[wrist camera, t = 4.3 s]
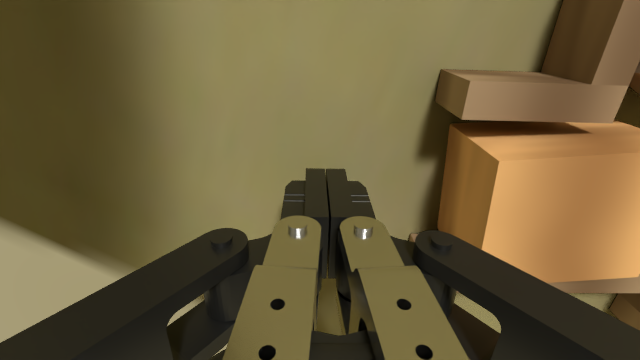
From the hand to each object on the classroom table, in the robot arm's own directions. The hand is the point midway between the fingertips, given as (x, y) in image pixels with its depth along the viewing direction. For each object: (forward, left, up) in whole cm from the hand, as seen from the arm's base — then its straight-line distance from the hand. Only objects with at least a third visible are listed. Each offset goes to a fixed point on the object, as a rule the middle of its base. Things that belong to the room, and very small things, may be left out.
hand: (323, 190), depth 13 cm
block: (+8, 0, -2) cm, 8 cm away
